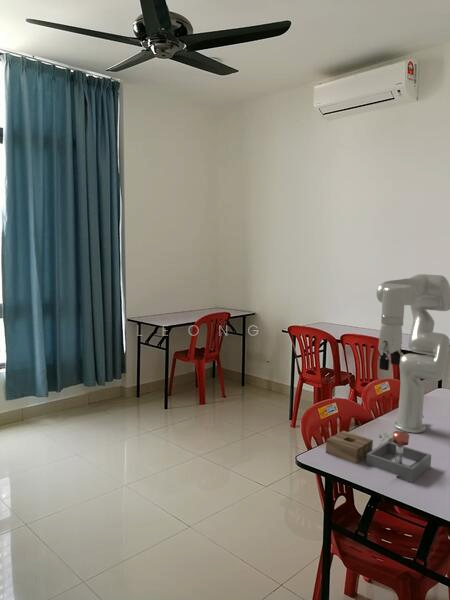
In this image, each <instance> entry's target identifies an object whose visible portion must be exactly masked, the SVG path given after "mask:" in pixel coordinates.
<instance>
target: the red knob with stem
mask: <svg viewBox="0 0 450 600" xmlns="http://www.w3.org/2000/svg"><path fill="white" fill-rule="evenodd" d="M392 432H393V440H391V442H392V443H395V444H396V454H394V457H395V458H394V462H396V463H399V464H402V465H403V458H404V457H403V449H404V446H408V445H409V441H410V434H409V432H405V431H402V430H395V431H392Z"/></svg>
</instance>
